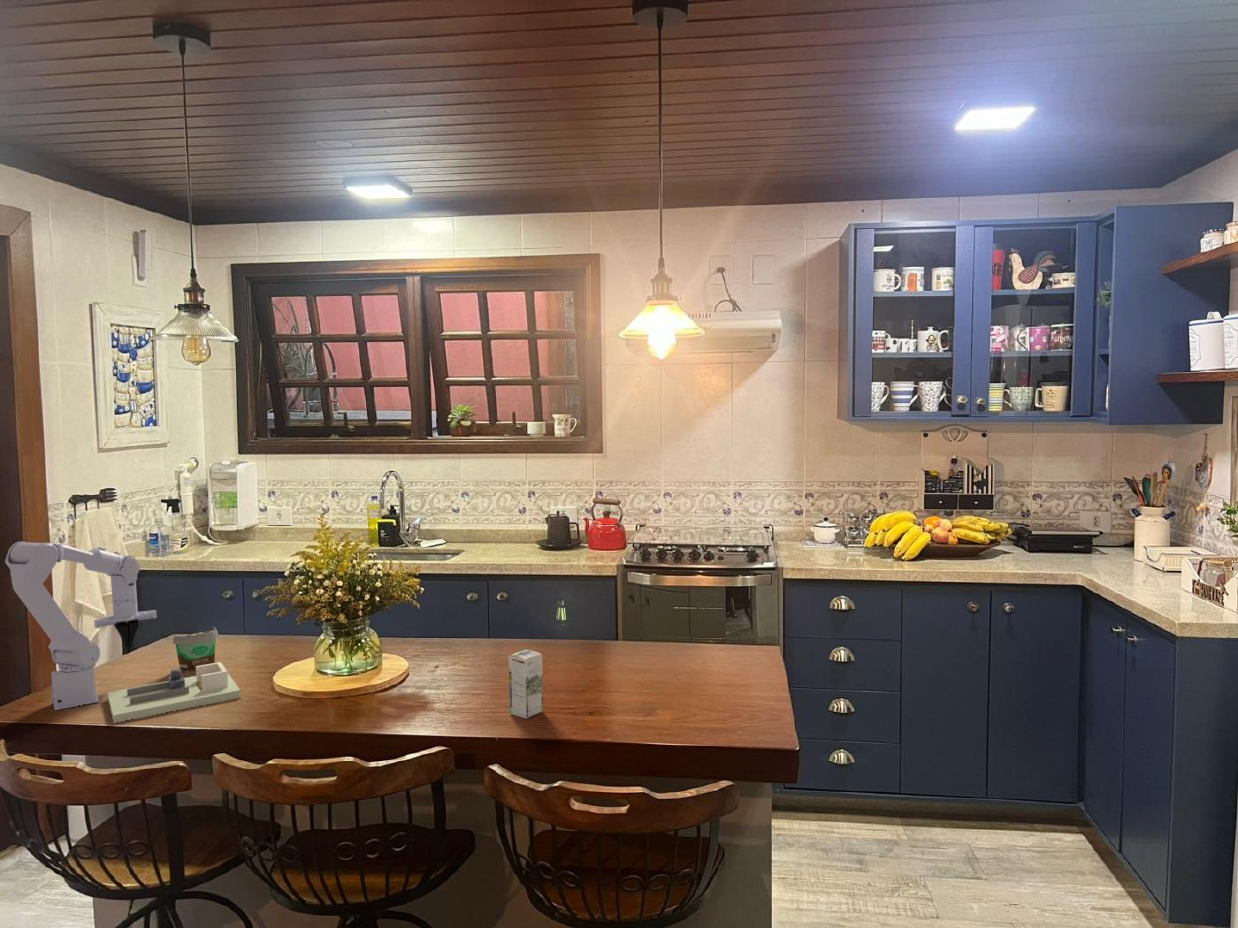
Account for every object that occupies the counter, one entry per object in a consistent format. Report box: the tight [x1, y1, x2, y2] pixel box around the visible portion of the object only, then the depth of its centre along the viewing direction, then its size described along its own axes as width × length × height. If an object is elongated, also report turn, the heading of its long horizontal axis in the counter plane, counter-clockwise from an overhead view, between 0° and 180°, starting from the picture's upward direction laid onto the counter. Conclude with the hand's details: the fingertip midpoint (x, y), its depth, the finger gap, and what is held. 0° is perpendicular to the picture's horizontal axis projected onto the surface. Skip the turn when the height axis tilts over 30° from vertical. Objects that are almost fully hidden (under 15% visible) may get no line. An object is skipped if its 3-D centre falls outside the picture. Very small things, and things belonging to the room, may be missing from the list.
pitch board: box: [107, 671, 242, 724], centre depth 217 cm, size 28×20×4 cm
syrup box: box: [508, 649, 544, 720], centre depth 201 cm, size 6×6×14 cm
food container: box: [172, 626, 219, 671], centre depth 243 cm, size 12×6×10 cm, turn 143°
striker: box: [167, 668, 185, 690], centre depth 217 cm, size 3×6×5 cm, turn 35°
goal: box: [195, 661, 229, 691], centre depth 222 cm, size 6×10×4 cm, turn 34°
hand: (128, 648), depth 230 cm, fingers closed
